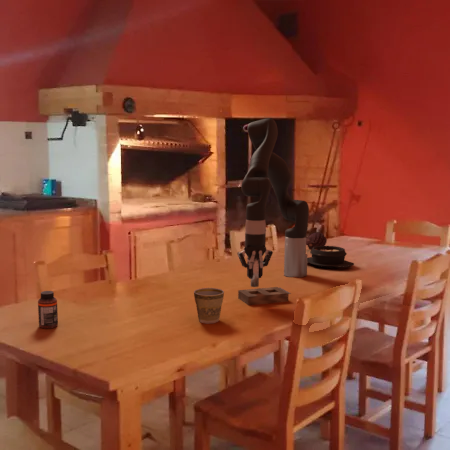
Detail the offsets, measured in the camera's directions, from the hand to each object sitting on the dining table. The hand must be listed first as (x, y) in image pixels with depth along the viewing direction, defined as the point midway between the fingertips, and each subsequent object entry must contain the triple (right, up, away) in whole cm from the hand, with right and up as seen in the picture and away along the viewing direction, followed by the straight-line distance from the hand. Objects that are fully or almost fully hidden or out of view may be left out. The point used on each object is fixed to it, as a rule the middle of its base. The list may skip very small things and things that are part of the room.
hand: (254, 277), depth 234 cm
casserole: (+38, 0, +65) cm, 75 cm away
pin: (0, -3, 0) cm, 3 cm away
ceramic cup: (-16, -12, -21) cm, 29 cm away
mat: (+8, -7, +15) cm, 18 cm away
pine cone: (+38, +6, +102) cm, 109 cm away
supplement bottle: (-68, -13, -30) cm, 75 cm away
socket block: (+3, -9, +3) cm, 10 cm away
